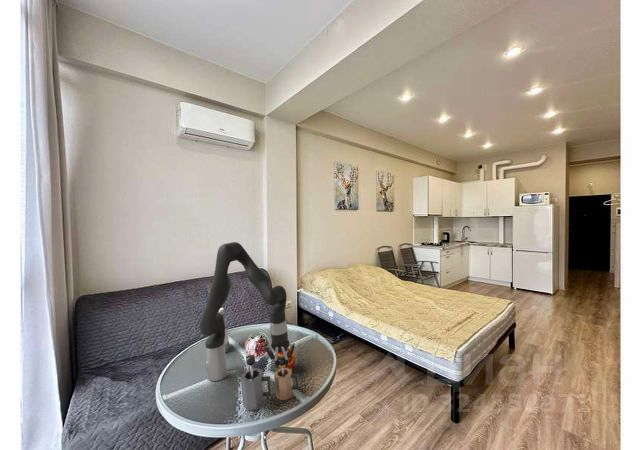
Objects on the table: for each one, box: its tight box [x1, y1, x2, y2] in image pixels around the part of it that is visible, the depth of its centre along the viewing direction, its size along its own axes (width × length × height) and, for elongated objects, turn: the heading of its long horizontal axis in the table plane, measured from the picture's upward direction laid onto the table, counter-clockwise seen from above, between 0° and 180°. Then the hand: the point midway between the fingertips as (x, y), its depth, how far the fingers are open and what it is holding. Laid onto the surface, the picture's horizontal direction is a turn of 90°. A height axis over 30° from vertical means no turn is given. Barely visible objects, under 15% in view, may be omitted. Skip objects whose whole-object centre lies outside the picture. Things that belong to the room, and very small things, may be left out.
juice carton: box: [218, 307, 230, 353], centre depth 162 cm, size 9×10×27 cm
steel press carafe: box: [240, 367, 273, 412], centre depth 114 cm, size 12×9×13 cm
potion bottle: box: [278, 347, 296, 372], centre depth 136 cm, size 10×10×15 cm
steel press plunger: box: [245, 354, 256, 379], centre depth 114 cm, size 4×4×19 cm
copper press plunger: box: [278, 356, 285, 376], centre depth 118 cm, size 3×3×15 cm
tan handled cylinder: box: [273, 368, 300, 401], centre depth 118 cm, size 10×8×10 cm
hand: (282, 366), depth 118 cm, fingers closed on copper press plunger, 3 cm apart
